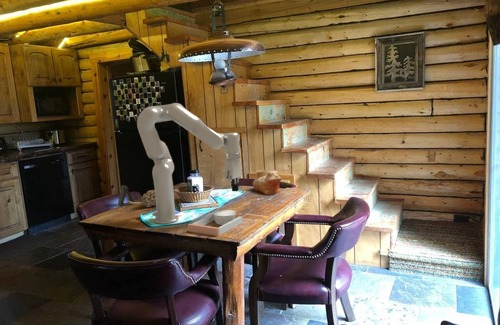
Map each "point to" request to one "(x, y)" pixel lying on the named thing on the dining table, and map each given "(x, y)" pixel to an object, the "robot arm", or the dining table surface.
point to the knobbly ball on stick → (147, 199)
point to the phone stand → (122, 196)
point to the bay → (200, 228)
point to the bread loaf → (267, 182)
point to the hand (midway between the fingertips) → (235, 190)
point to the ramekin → (224, 216)
